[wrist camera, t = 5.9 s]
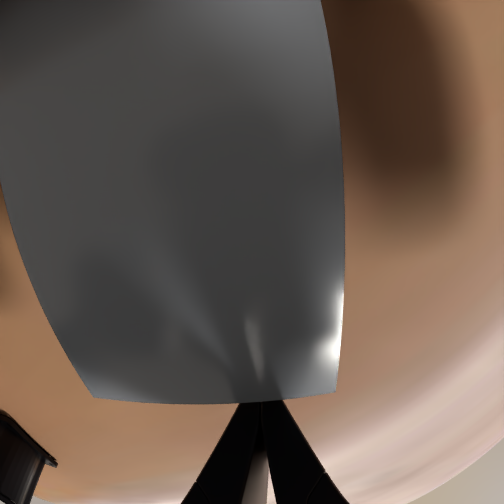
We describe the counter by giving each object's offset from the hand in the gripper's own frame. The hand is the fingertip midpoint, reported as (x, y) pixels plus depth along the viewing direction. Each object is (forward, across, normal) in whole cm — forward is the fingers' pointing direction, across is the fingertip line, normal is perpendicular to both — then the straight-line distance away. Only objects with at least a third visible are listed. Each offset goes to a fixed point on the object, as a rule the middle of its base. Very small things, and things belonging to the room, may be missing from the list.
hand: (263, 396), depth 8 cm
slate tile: (+2, +1, -8) cm, 8 cm away
